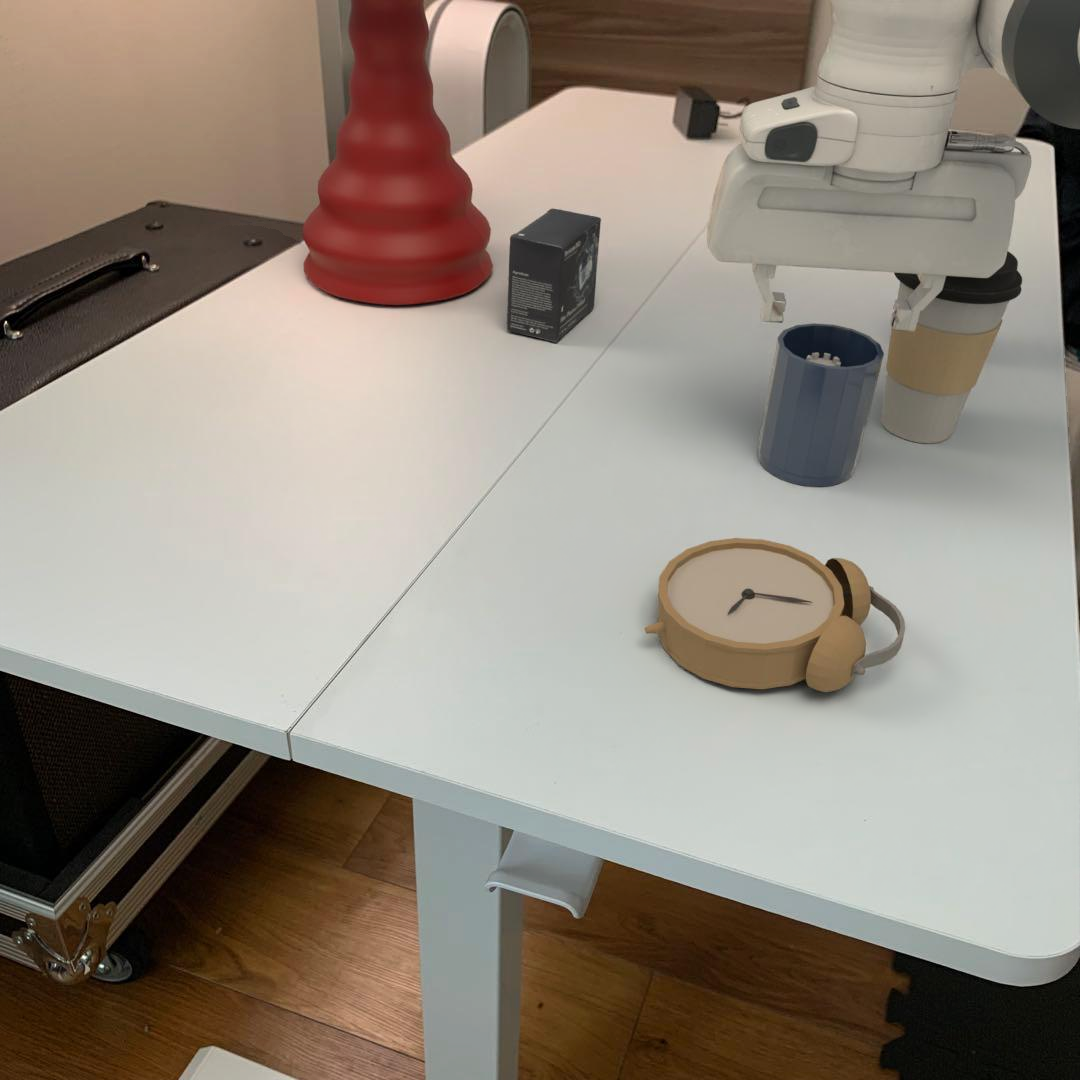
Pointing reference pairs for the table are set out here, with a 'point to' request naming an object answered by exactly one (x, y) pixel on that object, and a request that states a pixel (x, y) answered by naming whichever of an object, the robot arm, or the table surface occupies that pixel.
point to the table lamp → (394, 178)
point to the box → (552, 274)
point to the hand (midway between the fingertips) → (836, 323)
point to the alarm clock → (768, 616)
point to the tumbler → (818, 404)
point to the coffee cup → (944, 352)
